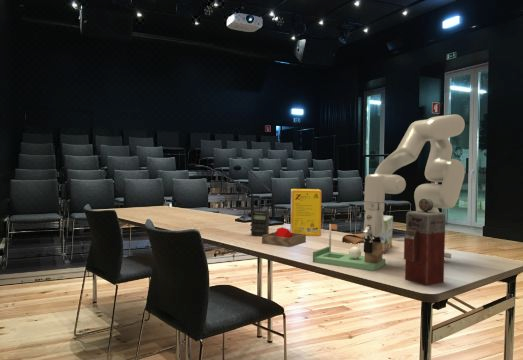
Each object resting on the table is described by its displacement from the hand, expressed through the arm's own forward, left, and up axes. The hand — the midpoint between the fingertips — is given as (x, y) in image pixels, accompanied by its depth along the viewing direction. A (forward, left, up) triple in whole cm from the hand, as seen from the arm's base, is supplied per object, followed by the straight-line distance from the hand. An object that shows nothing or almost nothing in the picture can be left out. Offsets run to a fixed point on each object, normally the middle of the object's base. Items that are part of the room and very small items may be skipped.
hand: (372, 250), depth 164 cm
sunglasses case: (+24, -50, -7) cm, 56 cm away
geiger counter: (+74, -33, -6) cm, 81 cm away
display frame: (+53, -24, -6) cm, 58 cm away
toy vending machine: (-21, +10, -6) cm, 24 cm away
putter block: (0, -1, -4) cm, 4 cm away
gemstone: (+53, -22, -6) cm, 58 cm away
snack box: (+7, -37, -6) cm, 38 cm away
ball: (+7, -1, -2) cm, 7 cm away
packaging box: (+58, -56, -6) cm, 81 cm away
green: (+9, -1, -6) cm, 11 cm away
